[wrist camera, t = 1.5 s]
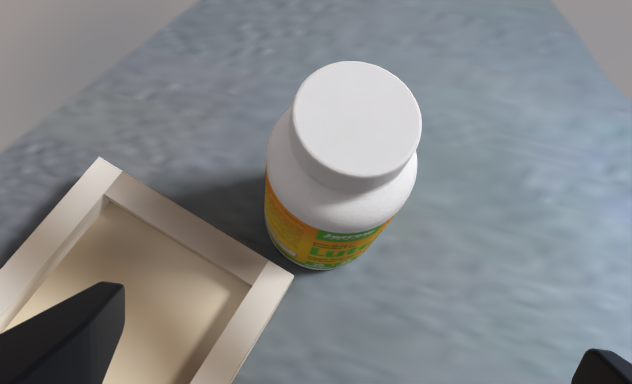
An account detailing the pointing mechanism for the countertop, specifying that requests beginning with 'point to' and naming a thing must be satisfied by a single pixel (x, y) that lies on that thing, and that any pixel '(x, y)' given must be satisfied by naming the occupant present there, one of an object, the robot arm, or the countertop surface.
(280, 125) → the supplement bottle
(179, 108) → the countertop surface
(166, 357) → the recess plate
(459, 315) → the countertop surface
